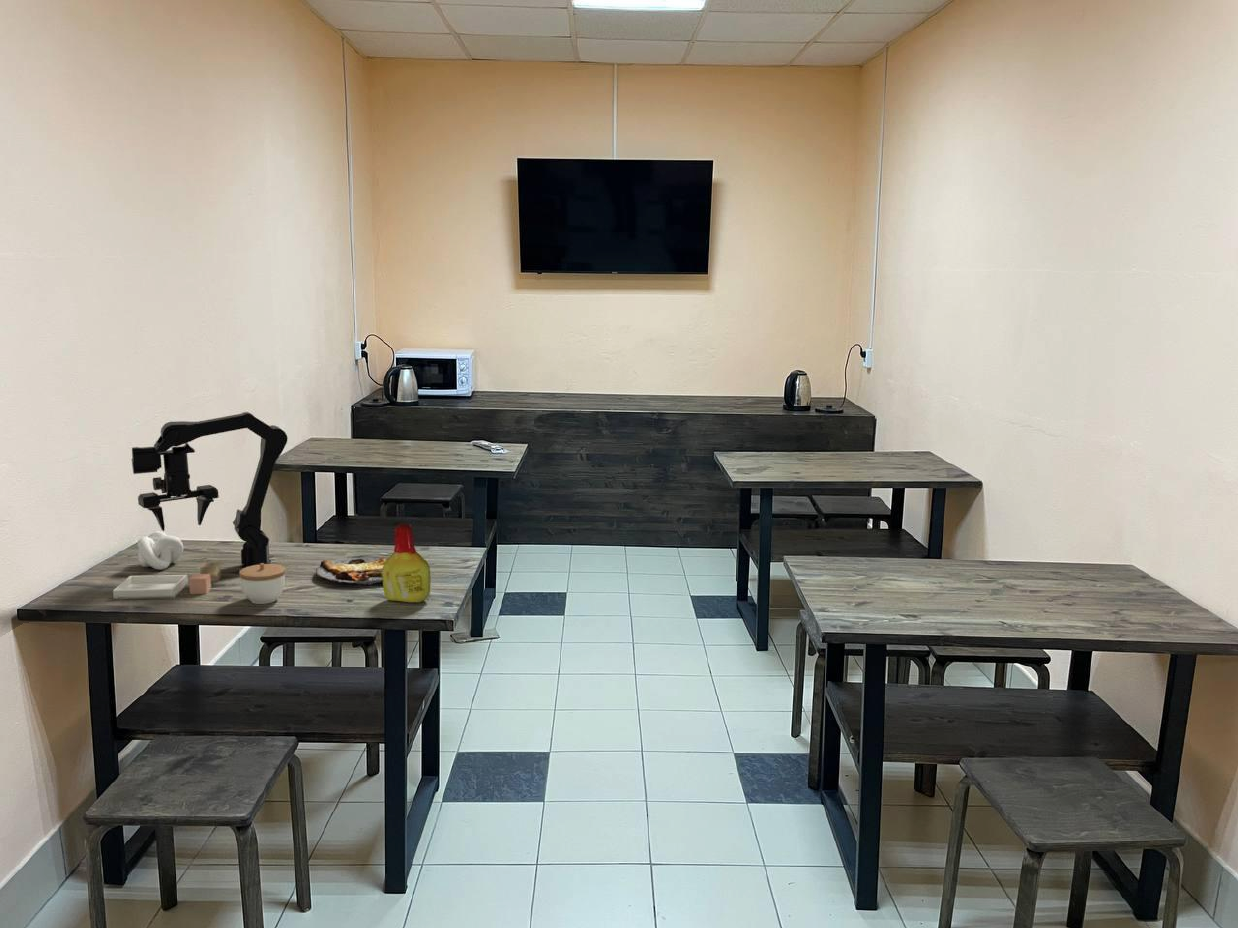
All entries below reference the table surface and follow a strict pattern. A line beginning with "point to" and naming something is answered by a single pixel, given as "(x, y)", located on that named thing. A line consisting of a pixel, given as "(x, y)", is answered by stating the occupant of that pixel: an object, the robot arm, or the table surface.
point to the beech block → (211, 570)
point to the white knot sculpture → (159, 550)
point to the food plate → (353, 569)
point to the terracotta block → (200, 583)
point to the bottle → (405, 570)
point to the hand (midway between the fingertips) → (181, 527)
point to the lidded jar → (262, 582)
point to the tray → (150, 587)
